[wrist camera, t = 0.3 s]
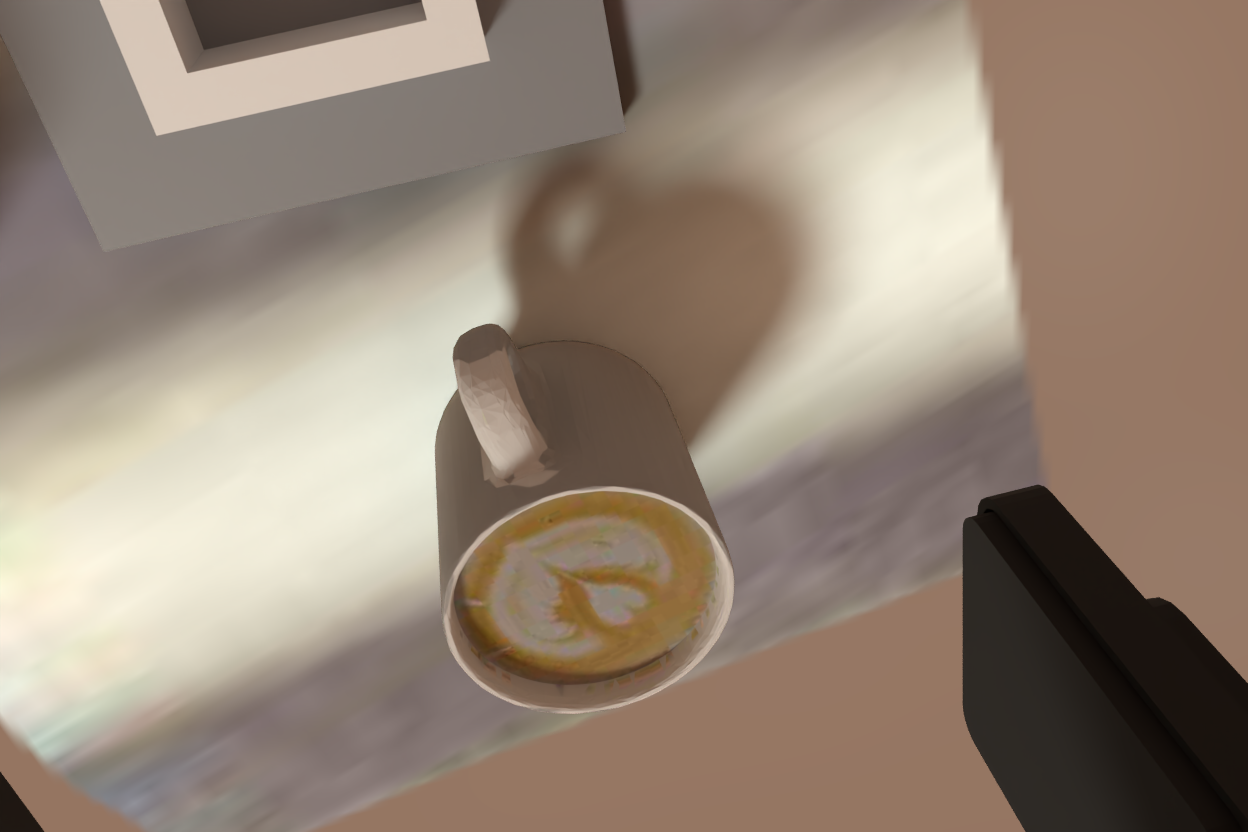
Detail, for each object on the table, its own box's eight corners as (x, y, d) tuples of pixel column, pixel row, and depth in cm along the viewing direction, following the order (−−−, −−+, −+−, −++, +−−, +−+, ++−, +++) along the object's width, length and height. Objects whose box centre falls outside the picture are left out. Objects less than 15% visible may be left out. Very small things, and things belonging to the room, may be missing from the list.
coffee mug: (690, 511, 47) (751, 673, 39) (470, 567, 47) (484, 743, 39) (638, 233, 40) (699, 357, 32) (377, 296, 40) (369, 439, 31)
